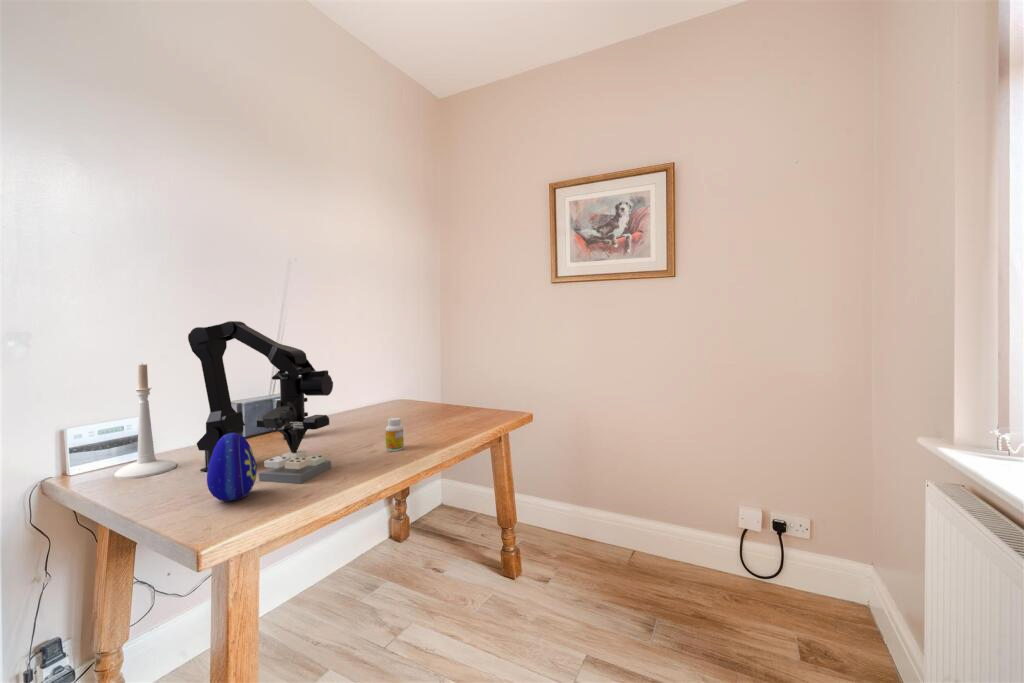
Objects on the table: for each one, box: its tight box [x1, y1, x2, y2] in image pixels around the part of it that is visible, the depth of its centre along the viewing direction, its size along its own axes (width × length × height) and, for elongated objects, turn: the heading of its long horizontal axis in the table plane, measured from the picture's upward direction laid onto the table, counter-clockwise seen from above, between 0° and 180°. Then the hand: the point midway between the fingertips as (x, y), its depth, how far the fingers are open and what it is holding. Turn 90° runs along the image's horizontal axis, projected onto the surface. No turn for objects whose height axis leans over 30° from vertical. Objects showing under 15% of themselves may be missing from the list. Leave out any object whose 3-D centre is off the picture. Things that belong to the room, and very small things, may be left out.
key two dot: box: [263, 455, 291, 468], centre depth 107 cm, size 4×4×2 cm
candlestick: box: [114, 363, 177, 480], centre depth 113 cm, size 13×13×30 cm
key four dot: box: [285, 457, 311, 469], centre depth 106 cm, size 4×4×2 cm
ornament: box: [206, 433, 258, 502], centre depth 93 cm, size 11×9×15 cm
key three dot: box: [306, 454, 327, 466], centre depth 111 cm, size 4×4×2 cm
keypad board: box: [258, 459, 332, 485], centre depth 109 cm, size 12×12×2 cm
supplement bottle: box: [385, 417, 405, 452], centre depth 131 cm, size 5×5×10 cm
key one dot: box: [281, 449, 308, 459], centre depth 113 cm, size 4×4×2 cm
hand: (294, 452), depth 113 cm, fingers closed, pressing on key one dot
